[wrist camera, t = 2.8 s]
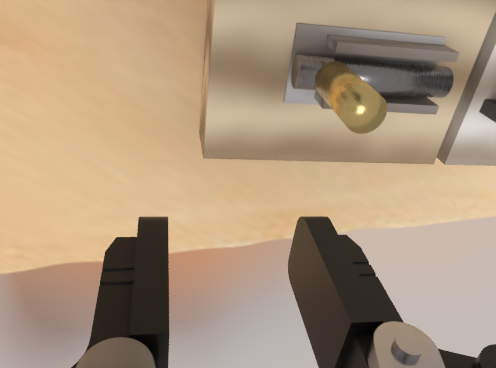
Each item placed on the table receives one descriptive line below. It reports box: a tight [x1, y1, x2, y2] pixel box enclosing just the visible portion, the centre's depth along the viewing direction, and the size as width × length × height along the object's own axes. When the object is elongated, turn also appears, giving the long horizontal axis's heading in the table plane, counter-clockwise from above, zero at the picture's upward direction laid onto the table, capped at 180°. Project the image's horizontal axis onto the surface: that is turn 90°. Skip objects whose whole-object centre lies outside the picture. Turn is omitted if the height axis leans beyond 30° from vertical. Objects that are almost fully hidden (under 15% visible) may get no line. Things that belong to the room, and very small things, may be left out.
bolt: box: [291, 55, 454, 134], centre depth 24 cm, size 2×10×7 cm, turn 83°
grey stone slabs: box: [200, 0, 496, 166], centre depth 28 cm, size 14×26×8 cm, turn 83°
